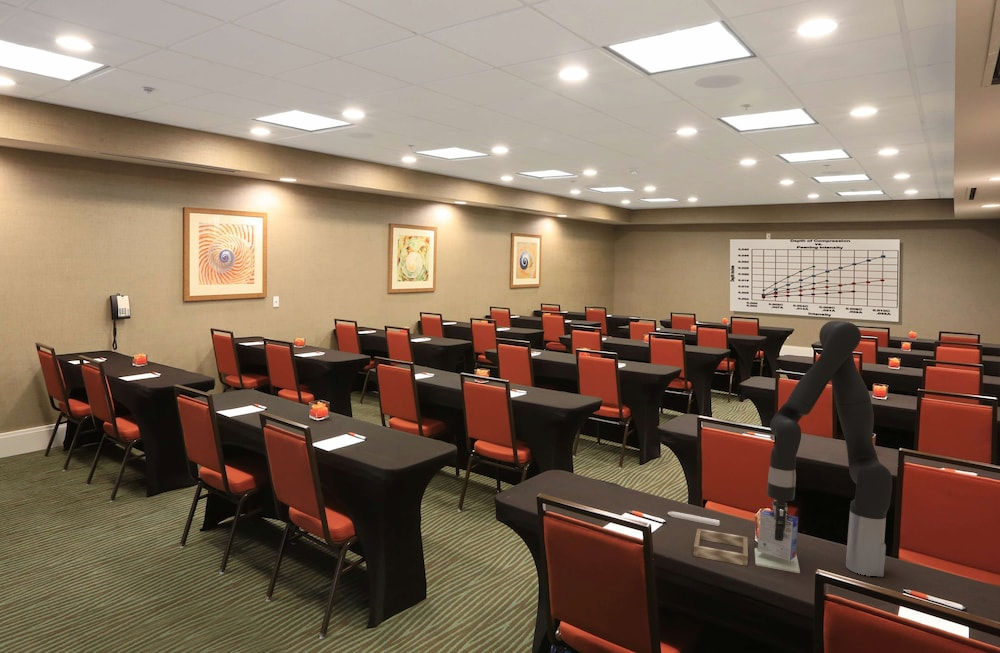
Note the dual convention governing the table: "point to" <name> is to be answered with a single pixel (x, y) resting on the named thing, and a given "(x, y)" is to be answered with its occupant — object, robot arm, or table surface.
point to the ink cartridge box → (767, 536)
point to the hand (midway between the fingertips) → (778, 535)
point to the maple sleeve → (721, 554)
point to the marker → (694, 518)
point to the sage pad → (776, 562)
